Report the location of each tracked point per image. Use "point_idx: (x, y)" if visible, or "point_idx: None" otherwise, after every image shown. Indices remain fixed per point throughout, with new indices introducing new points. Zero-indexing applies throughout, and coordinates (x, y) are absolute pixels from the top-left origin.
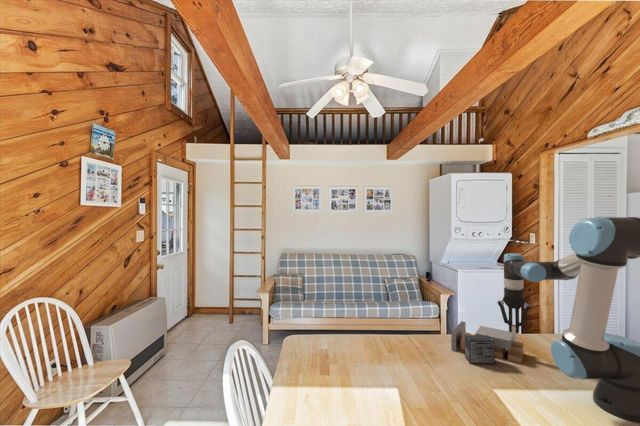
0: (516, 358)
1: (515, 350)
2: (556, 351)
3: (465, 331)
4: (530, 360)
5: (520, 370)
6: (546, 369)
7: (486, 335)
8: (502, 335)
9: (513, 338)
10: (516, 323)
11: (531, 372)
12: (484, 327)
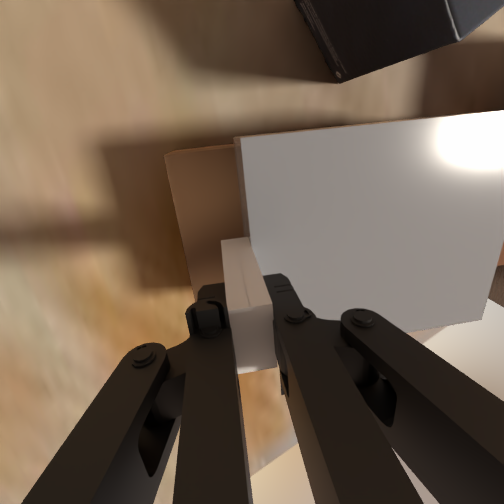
0: (198, 148)
1: (203, 154)
2: None
3: (493, 299)
4: (151, 231)
5: (146, 28)
6: (46, 170)
7: (477, 19)
8: (323, 231)
9: (237, 245)
10: (217, 349)
11: (87, 49)
12: (456, 304)
